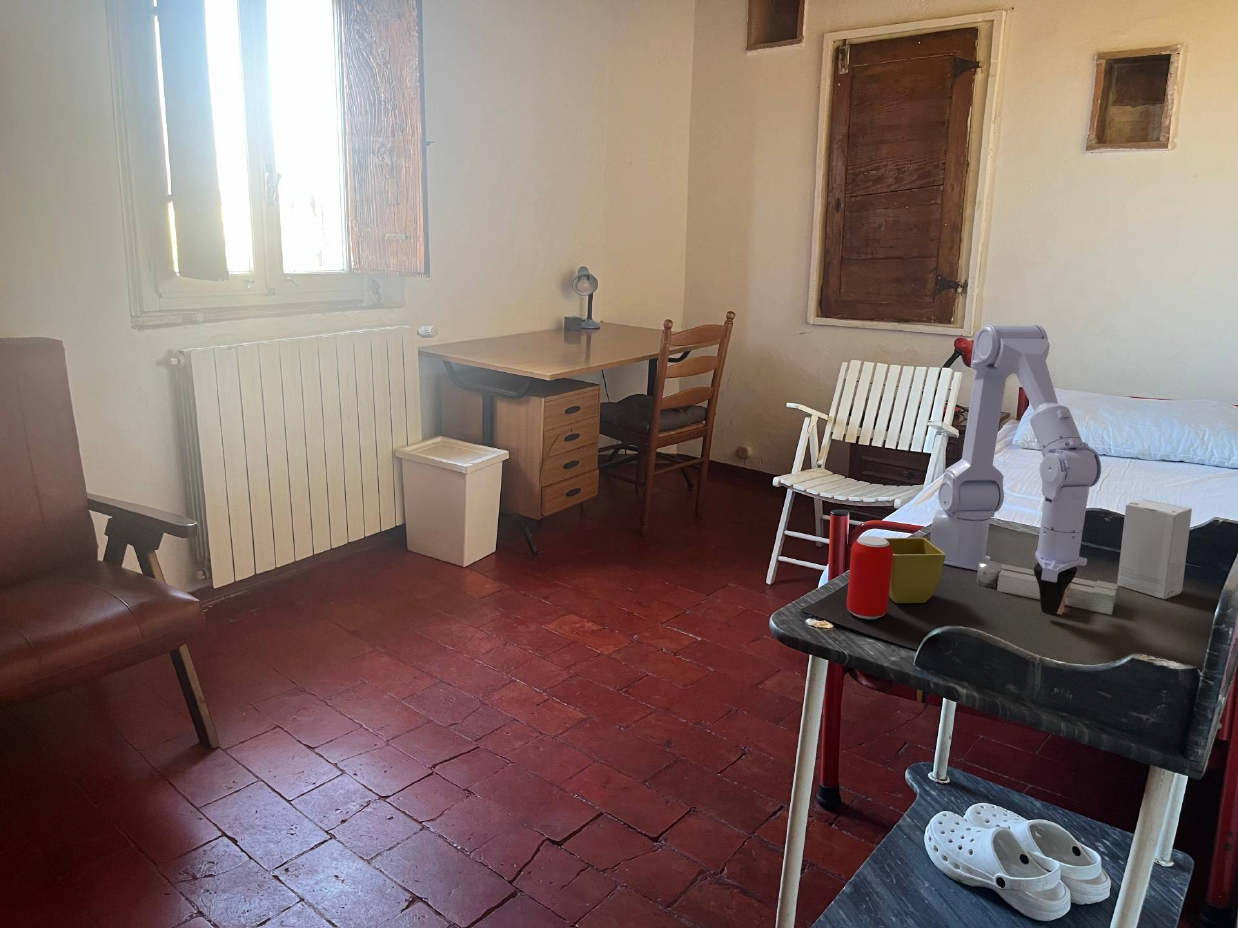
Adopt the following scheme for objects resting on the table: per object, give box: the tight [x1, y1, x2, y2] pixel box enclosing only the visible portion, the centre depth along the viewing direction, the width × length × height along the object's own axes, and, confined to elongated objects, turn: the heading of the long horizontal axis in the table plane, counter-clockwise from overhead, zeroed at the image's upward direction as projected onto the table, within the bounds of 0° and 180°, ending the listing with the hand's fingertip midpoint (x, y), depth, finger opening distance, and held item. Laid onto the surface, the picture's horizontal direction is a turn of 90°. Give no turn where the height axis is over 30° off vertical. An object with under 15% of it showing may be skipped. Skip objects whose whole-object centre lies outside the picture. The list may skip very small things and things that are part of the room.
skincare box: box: [1116, 498, 1193, 600], centre depth 152 cm, size 8×6×15 cm
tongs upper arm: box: [976, 560, 1118, 609], centre depth 150 cm, size 21×5×4 cm, turn 57°
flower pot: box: [883, 537, 946, 604], centre depth 147 cm, size 9×9×9 cm
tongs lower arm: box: [996, 570, 1117, 616], centre depth 148 cm, size 17×3×3 cm, turn 58°
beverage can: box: [846, 535, 893, 620], centre depth 140 cm, size 6×6×12 cm
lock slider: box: [1055, 585, 1069, 616], centre depth 145 cm, size 3×8×4 cm, turn 148°
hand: (1049, 611), depth 140 cm, fingers closed
